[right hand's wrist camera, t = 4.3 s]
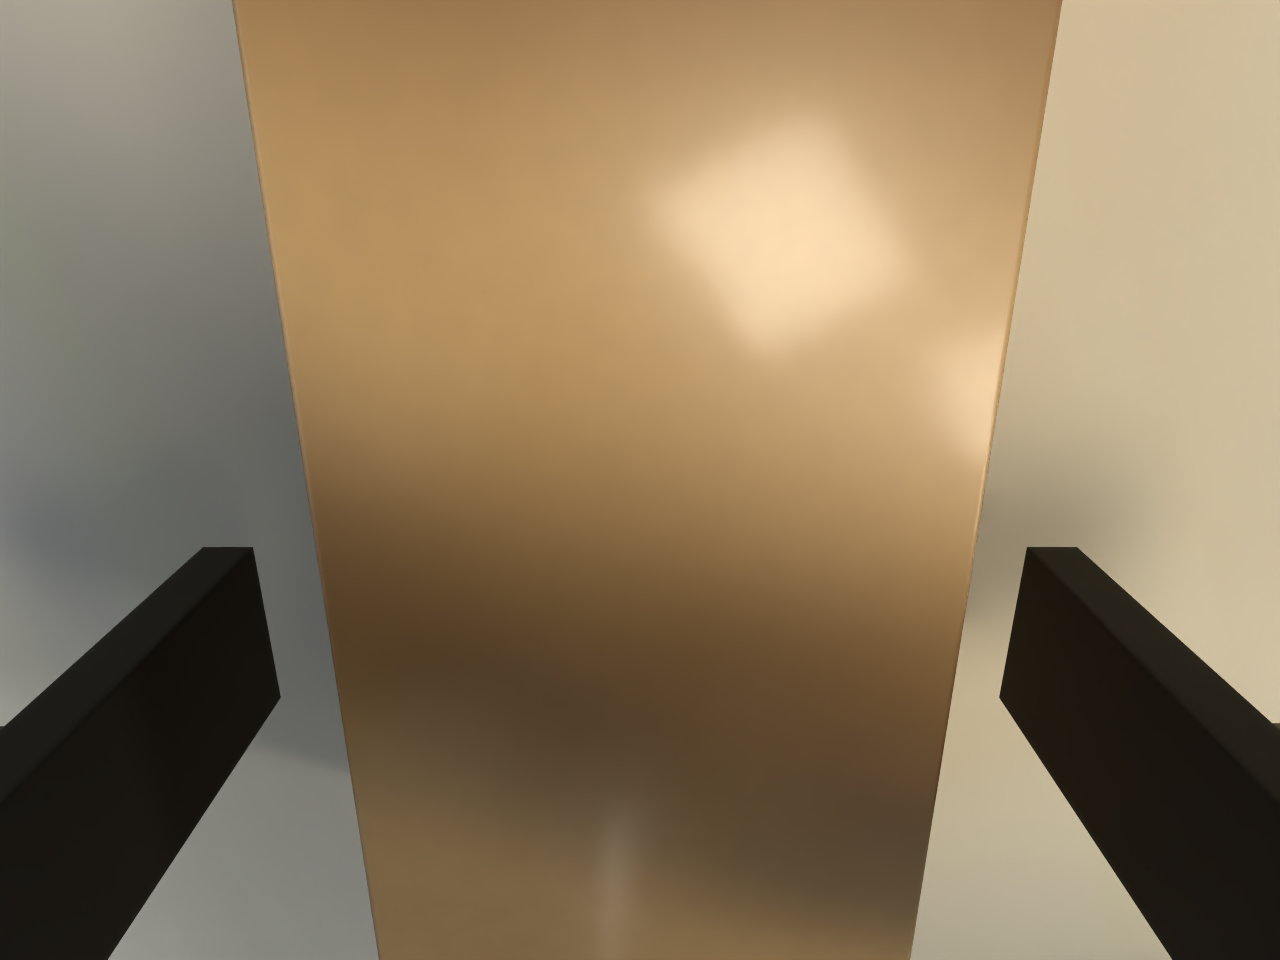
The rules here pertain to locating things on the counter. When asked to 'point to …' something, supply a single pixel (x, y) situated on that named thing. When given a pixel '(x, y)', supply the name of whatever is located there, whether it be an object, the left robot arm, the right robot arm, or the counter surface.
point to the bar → (645, 444)
